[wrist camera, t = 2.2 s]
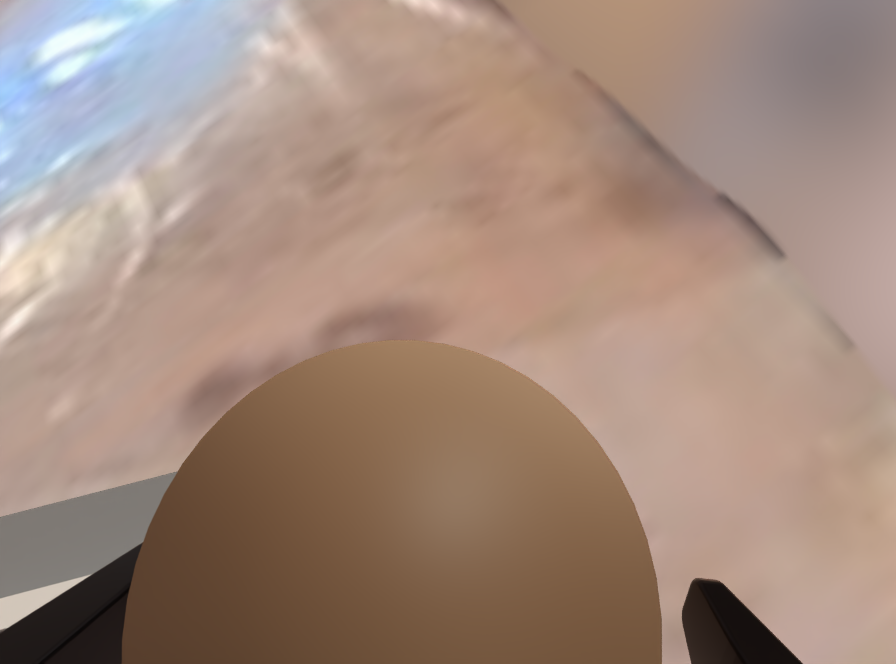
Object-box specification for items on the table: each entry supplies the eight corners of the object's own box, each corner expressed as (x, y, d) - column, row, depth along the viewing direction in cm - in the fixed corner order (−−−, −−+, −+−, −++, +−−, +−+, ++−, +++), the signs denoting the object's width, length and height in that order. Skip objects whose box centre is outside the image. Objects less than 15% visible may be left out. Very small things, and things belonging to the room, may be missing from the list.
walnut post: (518, 624, 15) (688, 1026, 3) (376, 608, 16) (34, 908, 3) (523, 474, 17) (644, 355, 5) (394, 463, 17) (205, 327, 5)
